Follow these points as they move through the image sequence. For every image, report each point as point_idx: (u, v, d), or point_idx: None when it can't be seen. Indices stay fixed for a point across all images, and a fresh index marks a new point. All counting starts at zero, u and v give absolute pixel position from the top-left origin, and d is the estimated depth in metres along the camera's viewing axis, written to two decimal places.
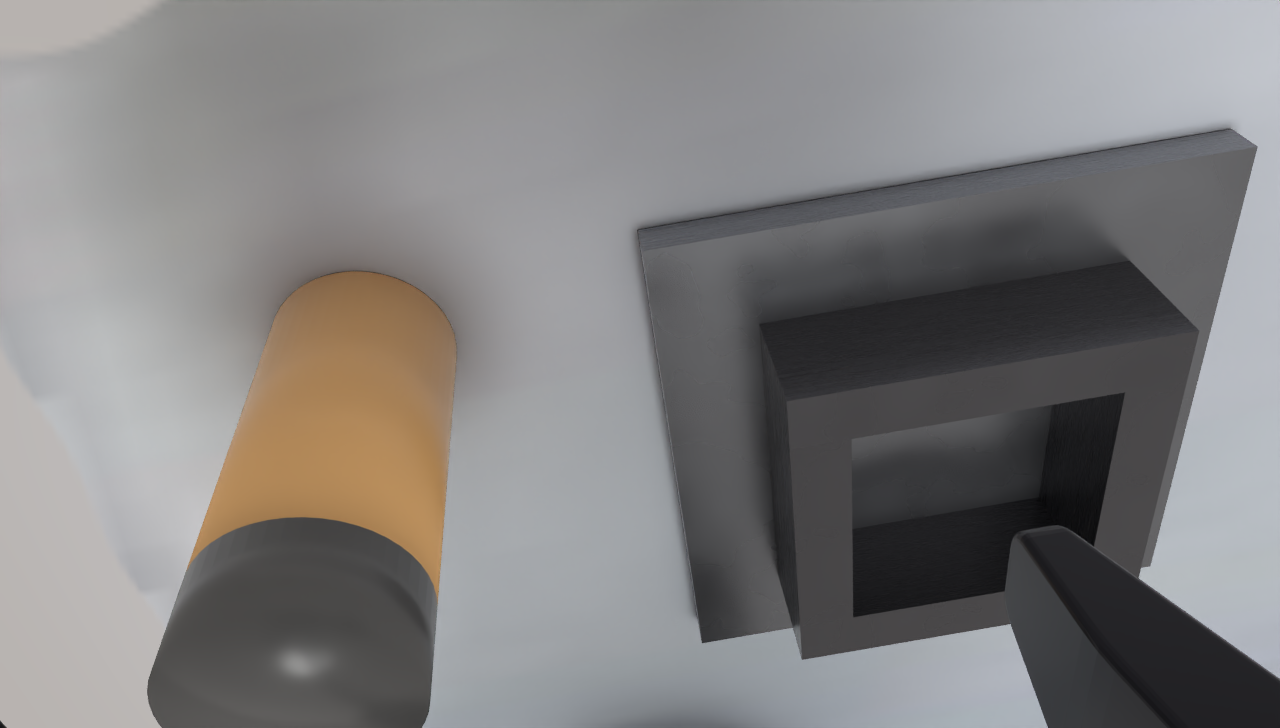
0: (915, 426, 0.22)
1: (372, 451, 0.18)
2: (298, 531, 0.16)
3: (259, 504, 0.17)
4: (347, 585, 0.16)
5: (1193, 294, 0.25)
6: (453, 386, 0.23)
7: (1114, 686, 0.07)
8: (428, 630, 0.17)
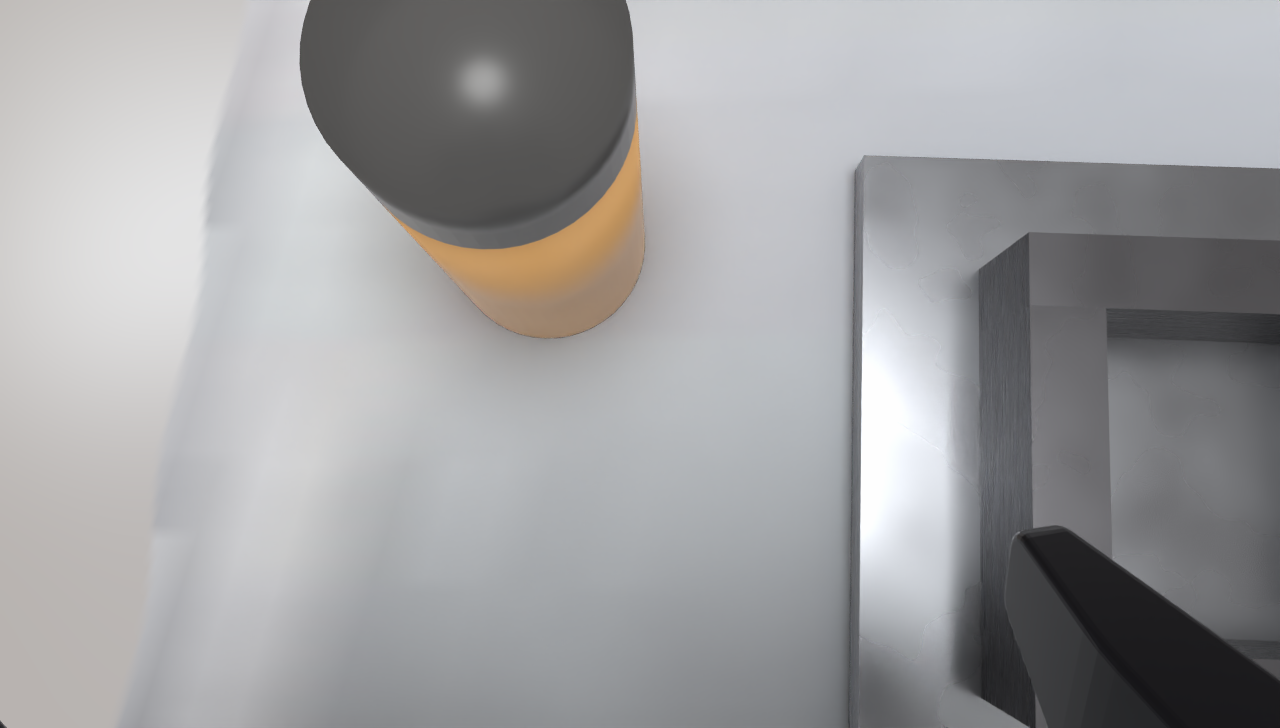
0: (1184, 308, 0.18)
1: None
2: None
3: None
4: None
5: None
6: (641, 245, 0.21)
7: (1114, 686, 0.07)
8: (634, 76, 0.14)
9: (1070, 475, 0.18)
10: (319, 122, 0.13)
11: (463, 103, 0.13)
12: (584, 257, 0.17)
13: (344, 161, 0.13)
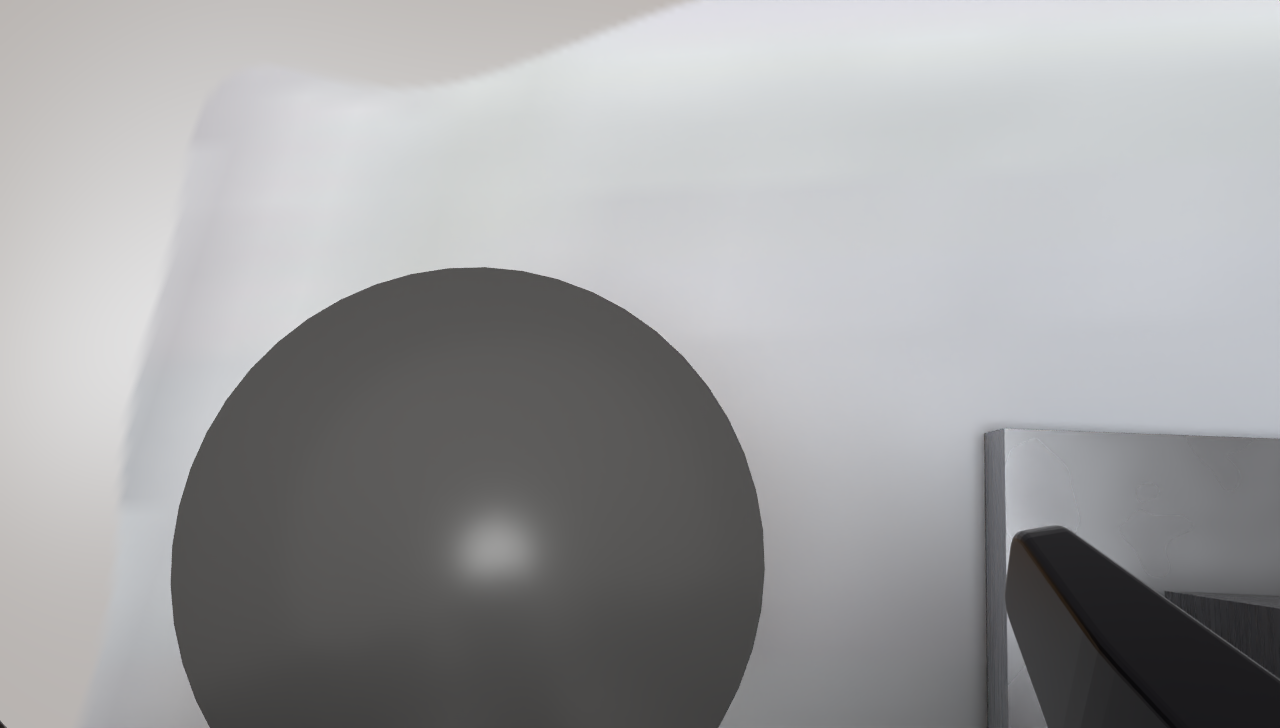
0: None
1: None
2: None
3: None
4: None
5: None
6: None
7: (1114, 686, 0.07)
8: None
9: None
10: (203, 698, 0.07)
11: (462, 663, 0.07)
12: None
13: None
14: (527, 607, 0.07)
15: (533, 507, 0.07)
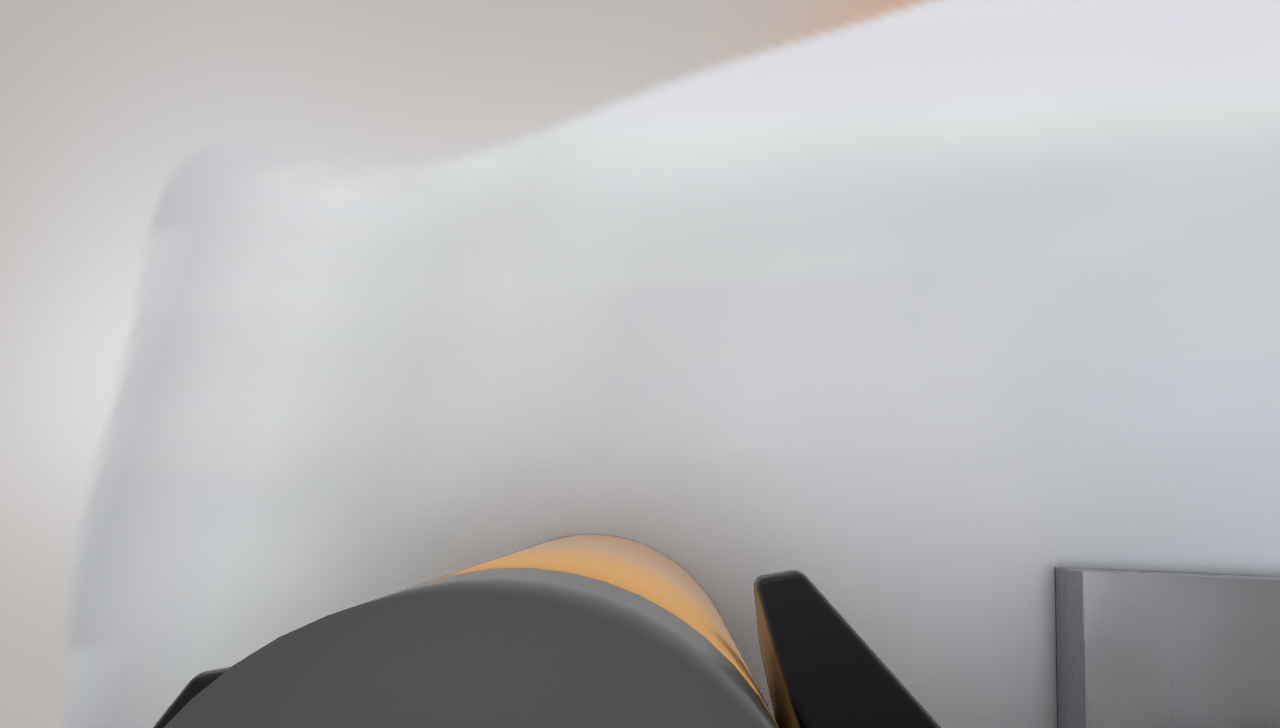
0: None
1: (701, 614, 0.09)
2: (596, 584, 0.07)
3: (504, 565, 0.08)
4: (717, 670, 0.06)
5: None
6: None
7: None
8: None
9: None
10: None
11: None
12: None
13: None
14: None
15: None
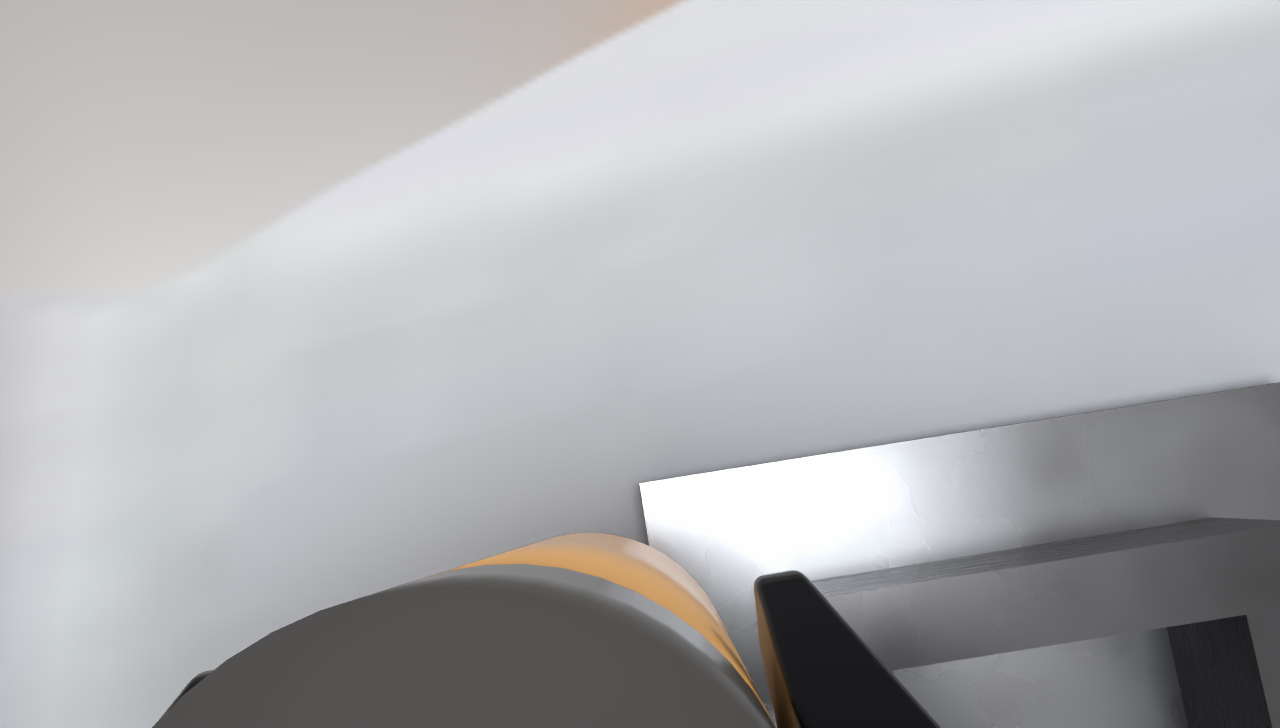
0: (975, 654, 0.17)
1: (696, 610, 0.09)
2: (590, 580, 0.07)
3: (499, 561, 0.08)
4: (710, 665, 0.06)
5: None
6: None
7: None
8: None
9: None
10: None
11: None
12: None
13: None
14: None
15: None
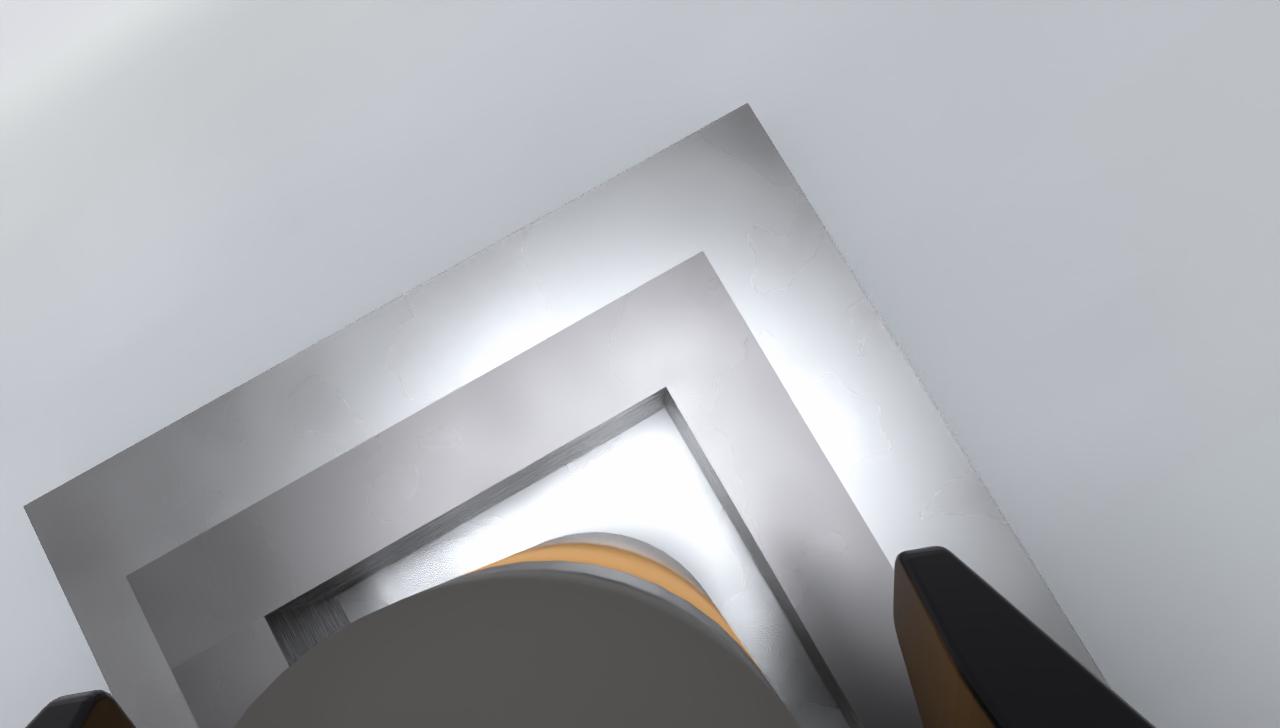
0: (358, 558, 0.13)
1: (706, 603, 0.10)
2: (620, 575, 0.08)
3: (533, 559, 0.09)
4: None
5: (828, 310, 0.17)
6: None
7: (972, 710, 0.07)
8: None
9: None
10: None
11: None
12: None
13: None
14: None
15: None
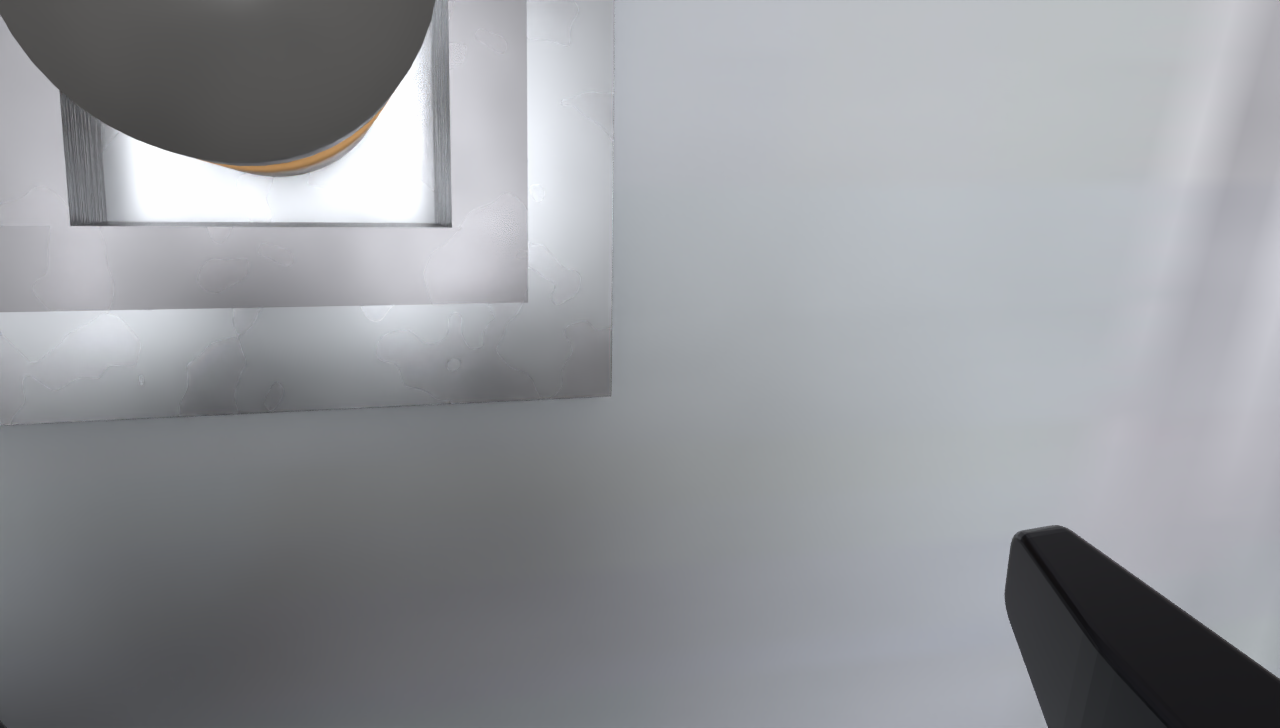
0: None
1: None
2: None
3: None
4: None
5: None
6: (362, 137, 0.19)
7: (1114, 686, 0.07)
8: None
9: (3, 27, 0.16)
10: None
11: (182, 5, 0.10)
12: (272, 169, 0.14)
13: None
14: None
15: None
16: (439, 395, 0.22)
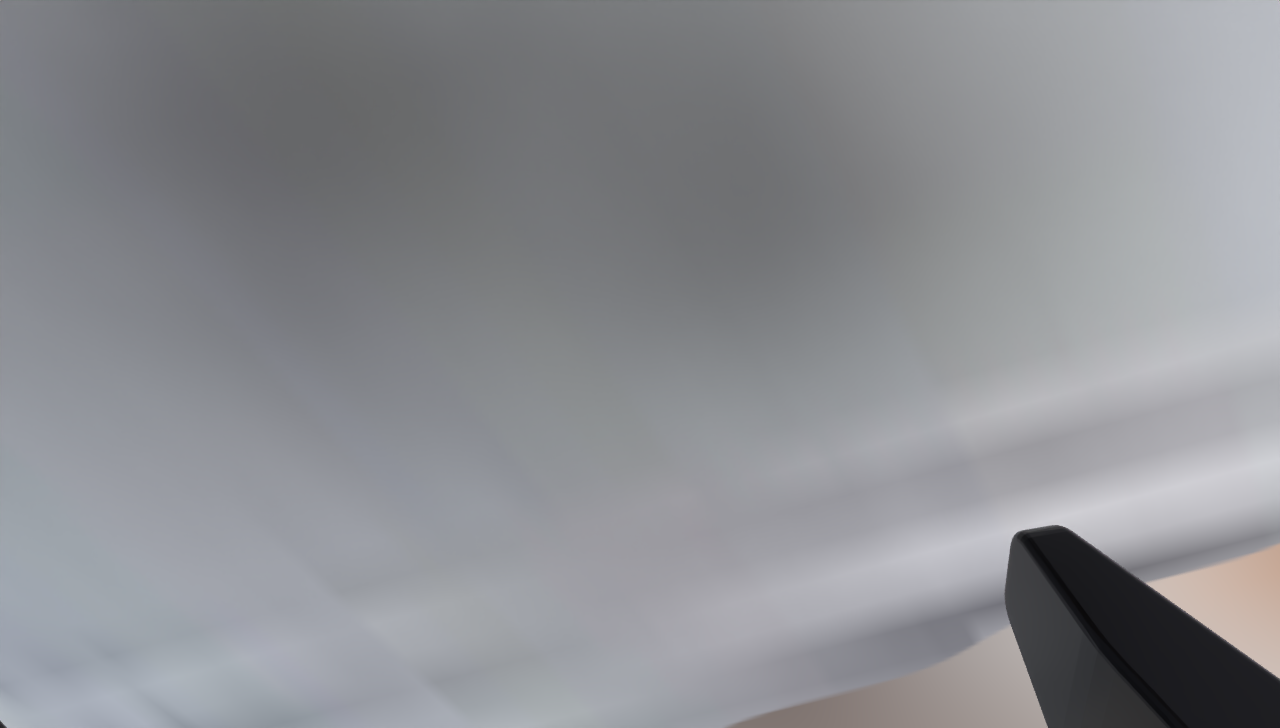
0: None
1: None
2: None
3: None
4: None
5: None
6: None
7: (1114, 686, 0.07)
8: None
9: None
10: None
11: None
12: None
13: None
14: None
15: None
16: None
